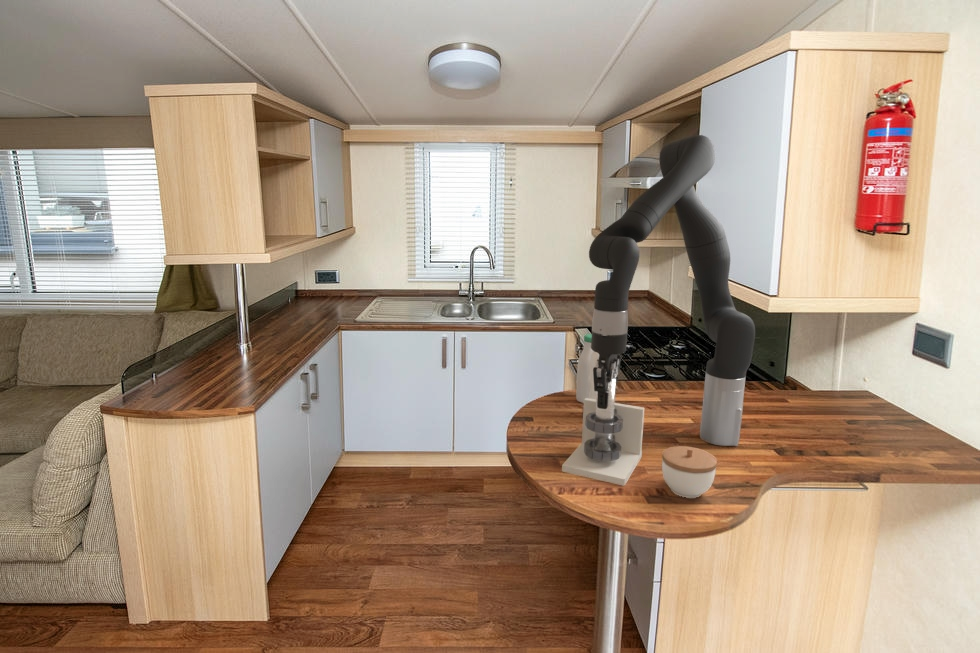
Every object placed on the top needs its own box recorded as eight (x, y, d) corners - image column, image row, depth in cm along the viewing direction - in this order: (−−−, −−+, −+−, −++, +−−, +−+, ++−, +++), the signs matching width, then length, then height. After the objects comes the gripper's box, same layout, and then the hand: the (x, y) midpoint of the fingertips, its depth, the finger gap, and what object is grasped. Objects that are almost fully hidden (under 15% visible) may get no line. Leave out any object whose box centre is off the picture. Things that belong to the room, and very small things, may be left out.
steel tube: (596, 448, 136) (600, 373, 132) (613, 452, 134) (618, 376, 130) (591, 455, 132) (595, 378, 128) (608, 459, 130) (613, 381, 126)
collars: (627, 445, 137) (629, 411, 135) (615, 464, 128) (617, 427, 126) (594, 439, 141) (596, 405, 139) (579, 456, 131) (581, 420, 129)
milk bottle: (606, 403, 174) (610, 337, 169) (582, 405, 172) (585, 339, 167) (594, 395, 181) (598, 331, 177) (571, 397, 179) (574, 333, 174)
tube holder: (641, 456, 138) (645, 406, 136) (624, 485, 124) (628, 430, 122) (584, 445, 144) (586, 396, 142) (561, 471, 130) (564, 418, 128)
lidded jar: (649, 482, 126) (652, 442, 124) (691, 476, 129) (695, 436, 127) (679, 507, 116) (683, 463, 114) (725, 499, 119) (729, 456, 117)
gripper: (602, 321, 134) (598, 393, 138) (582, 334, 122) (578, 412, 126) (634, 325, 131) (629, 398, 135) (618, 338, 119) (613, 418, 122)
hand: (605, 404), depth 130 cm, fingers closed on steel tube, 4 cm apart
